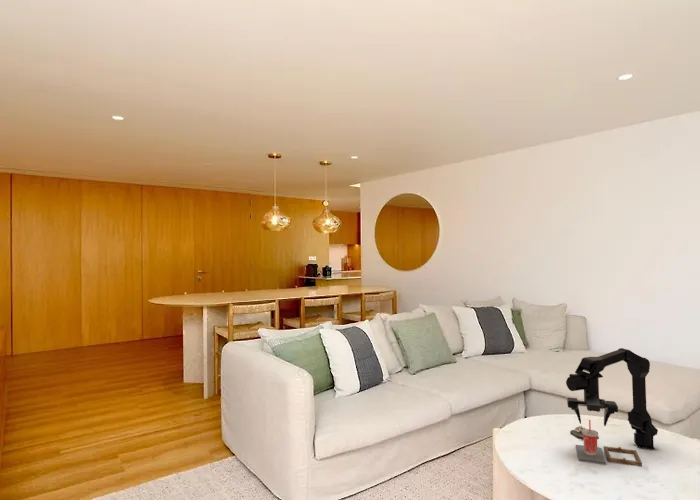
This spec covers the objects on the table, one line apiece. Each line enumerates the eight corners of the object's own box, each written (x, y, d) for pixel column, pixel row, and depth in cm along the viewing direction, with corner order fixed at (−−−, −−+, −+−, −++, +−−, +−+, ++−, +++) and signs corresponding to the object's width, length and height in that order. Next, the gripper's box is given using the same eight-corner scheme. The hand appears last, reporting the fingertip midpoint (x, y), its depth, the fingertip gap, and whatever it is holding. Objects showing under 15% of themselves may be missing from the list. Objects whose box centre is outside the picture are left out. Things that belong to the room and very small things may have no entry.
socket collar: (635, 453, 190) (635, 448, 190) (642, 466, 179) (641, 461, 179) (603, 449, 194) (603, 444, 194) (607, 461, 183) (607, 456, 183)
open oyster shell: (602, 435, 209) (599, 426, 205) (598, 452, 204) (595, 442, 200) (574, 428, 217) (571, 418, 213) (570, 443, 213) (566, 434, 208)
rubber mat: (601, 450, 194) (601, 447, 194) (606, 464, 181) (606, 462, 181) (575, 446, 198) (575, 444, 198) (578, 460, 185) (578, 458, 185)
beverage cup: (580, 449, 193) (579, 417, 193) (595, 450, 192) (594, 417, 192) (585, 455, 187) (584, 422, 187) (601, 456, 186) (600, 423, 186)
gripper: (568, 392, 186) (569, 429, 186) (619, 396, 179) (621, 434, 179) (566, 384, 197) (567, 419, 197) (615, 387, 189) (616, 424, 189)
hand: (592, 424), depth 190 cm, fingers open, 9 cm apart
